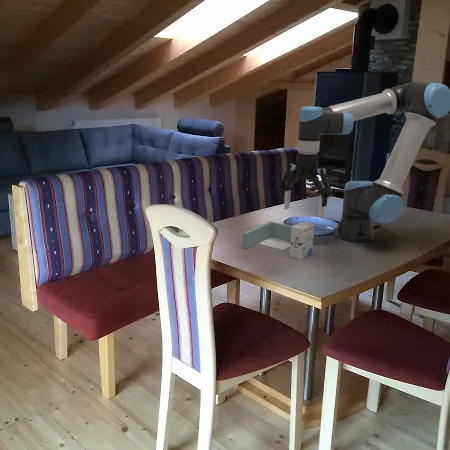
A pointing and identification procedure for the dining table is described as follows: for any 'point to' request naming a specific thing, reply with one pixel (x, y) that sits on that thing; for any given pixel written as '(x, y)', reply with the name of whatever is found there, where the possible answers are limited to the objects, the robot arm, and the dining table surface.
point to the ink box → (301, 240)
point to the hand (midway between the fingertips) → (303, 211)
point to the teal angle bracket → (267, 233)
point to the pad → (275, 244)
